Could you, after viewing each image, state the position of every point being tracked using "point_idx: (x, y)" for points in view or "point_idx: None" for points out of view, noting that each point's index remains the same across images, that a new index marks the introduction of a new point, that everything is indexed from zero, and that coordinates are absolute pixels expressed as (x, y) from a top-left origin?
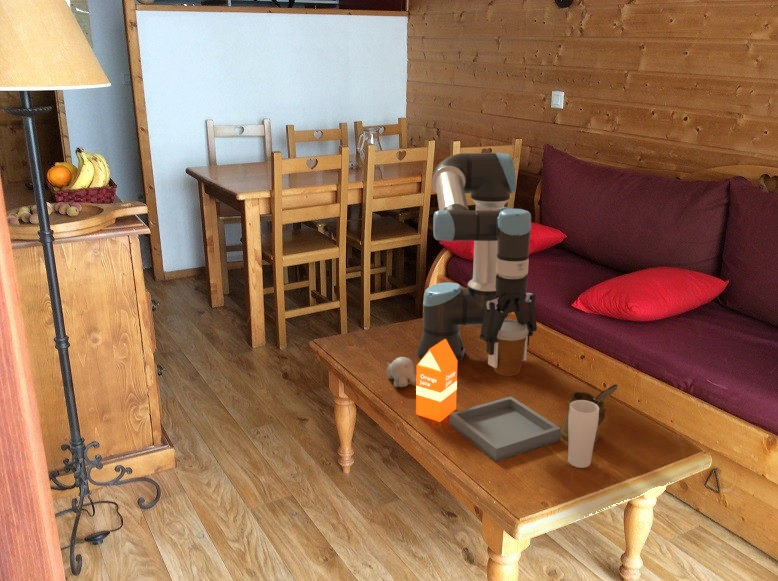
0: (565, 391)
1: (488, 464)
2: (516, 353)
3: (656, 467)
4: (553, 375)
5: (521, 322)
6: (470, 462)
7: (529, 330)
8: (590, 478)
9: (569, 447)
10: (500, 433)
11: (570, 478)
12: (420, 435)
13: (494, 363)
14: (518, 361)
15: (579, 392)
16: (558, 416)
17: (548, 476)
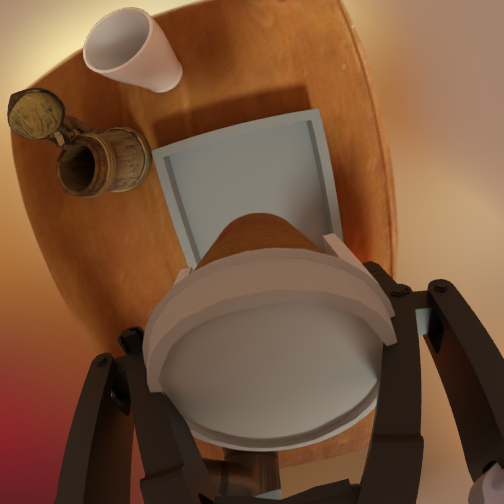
0: (98, 308)
1: (327, 109)
2: (255, 231)
3: (67, 62)
4: (106, 352)
5: (173, 411)
6: (353, 126)
7: (132, 358)
8: (171, 34)
9: (176, 64)
10: (267, 190)
11: (203, 37)
12: (392, 234)
13: (340, 241)
14: (236, 227)
15: (76, 192)
16: (129, 235)
17: (238, 48)
